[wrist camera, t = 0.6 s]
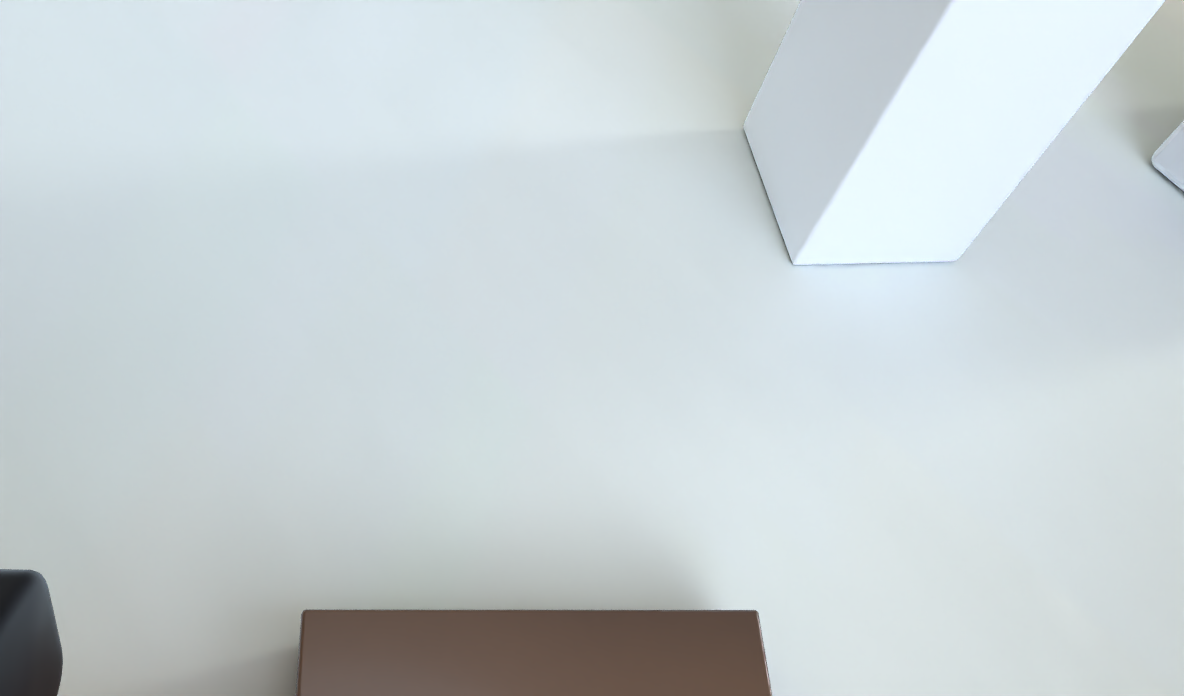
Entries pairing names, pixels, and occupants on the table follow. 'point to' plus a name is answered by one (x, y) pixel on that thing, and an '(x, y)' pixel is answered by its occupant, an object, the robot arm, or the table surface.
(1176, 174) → the container
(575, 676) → the riser
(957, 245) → the milk
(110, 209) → the table surface
